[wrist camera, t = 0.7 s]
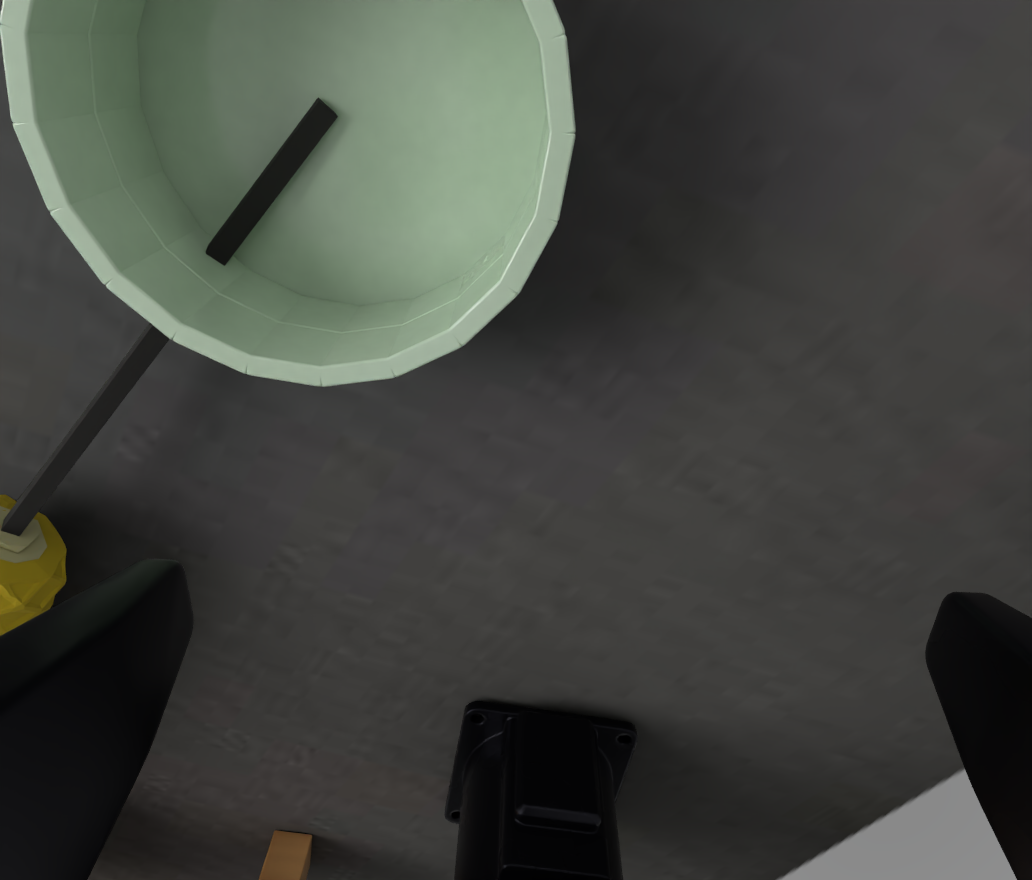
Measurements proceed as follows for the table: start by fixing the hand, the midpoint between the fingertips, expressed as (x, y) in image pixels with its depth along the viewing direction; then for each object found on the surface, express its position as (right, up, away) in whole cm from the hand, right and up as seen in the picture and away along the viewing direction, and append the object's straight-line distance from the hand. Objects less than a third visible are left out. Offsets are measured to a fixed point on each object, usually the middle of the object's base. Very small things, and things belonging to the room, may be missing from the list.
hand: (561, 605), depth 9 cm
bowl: (-5, +10, +10) cm, 15 cm away
